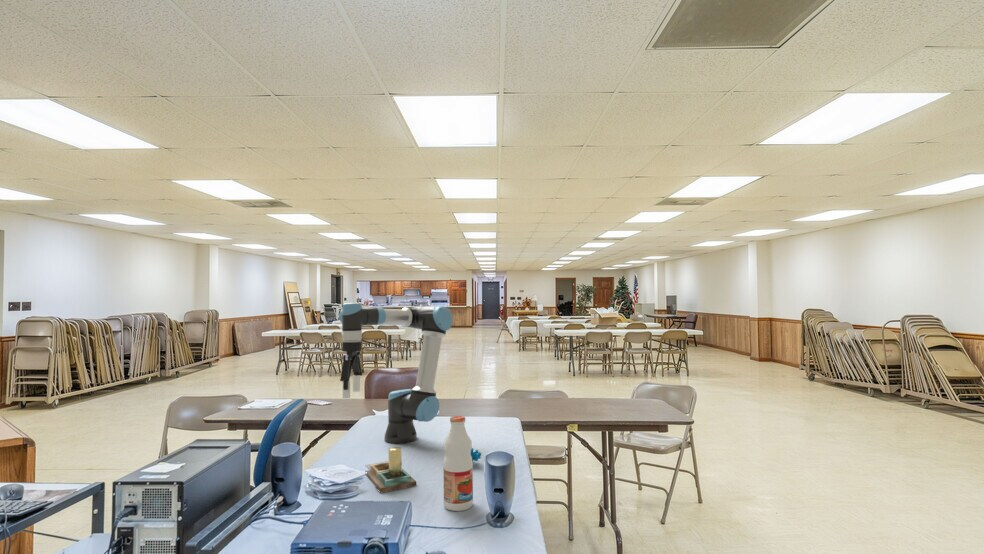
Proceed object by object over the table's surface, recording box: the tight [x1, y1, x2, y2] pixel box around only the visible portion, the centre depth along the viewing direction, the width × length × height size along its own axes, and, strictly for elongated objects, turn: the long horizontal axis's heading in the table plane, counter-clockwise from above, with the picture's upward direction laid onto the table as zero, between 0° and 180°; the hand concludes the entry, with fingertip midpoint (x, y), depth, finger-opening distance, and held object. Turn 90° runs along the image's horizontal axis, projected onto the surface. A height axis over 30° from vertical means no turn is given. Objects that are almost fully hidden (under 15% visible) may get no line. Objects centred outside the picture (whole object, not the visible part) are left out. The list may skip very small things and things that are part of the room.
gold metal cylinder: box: [387, 446, 403, 480], centre depth 171 cm, size 5×5×11 cm
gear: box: [471, 447, 482, 462], centre depth 190 cm, size 11×6×10 cm
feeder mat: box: [364, 460, 389, 470], centre depth 189 cm, size 10×9×1 cm
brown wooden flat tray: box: [364, 461, 417, 494], centre depth 175 cm, size 13×20×4 cm, turn 30°
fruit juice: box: [442, 415, 474, 512], centre depth 153 cm, size 9×9×28 cm
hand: (351, 394), depth 190 cm, fingers open, 13 cm apart
